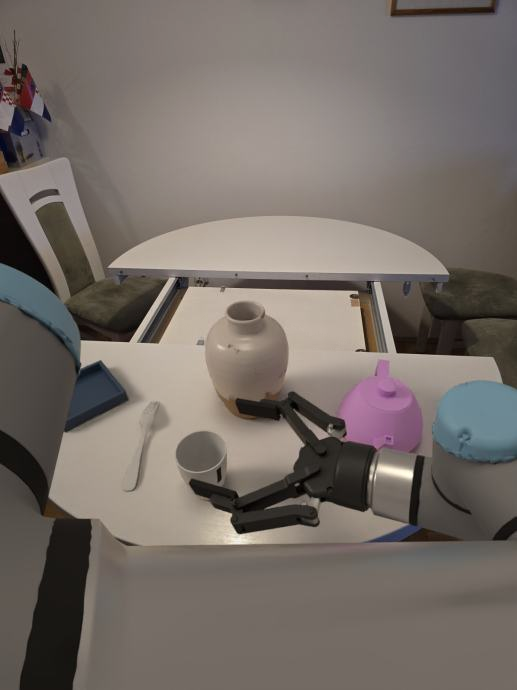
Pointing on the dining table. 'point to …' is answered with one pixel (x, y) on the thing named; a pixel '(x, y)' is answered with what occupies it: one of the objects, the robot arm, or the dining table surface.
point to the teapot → (382, 412)
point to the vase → (246, 355)
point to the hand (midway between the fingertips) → (217, 442)
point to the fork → (138, 449)
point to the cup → (202, 458)
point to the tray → (94, 394)
